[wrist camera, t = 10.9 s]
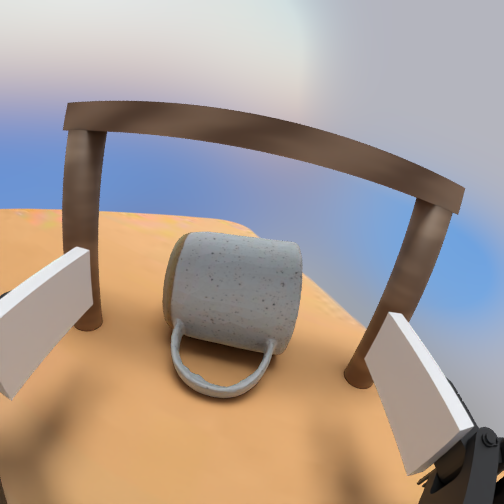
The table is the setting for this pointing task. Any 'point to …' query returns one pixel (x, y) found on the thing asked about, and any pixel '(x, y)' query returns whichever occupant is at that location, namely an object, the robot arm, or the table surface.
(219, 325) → the ceramic mug
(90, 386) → the table surface
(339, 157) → the walnut gate
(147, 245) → the table surface
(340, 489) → the table surface
